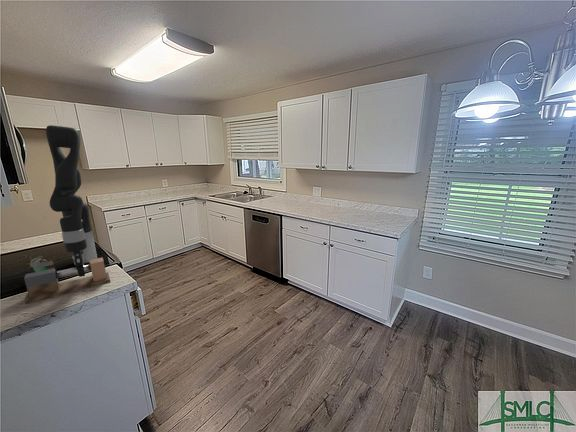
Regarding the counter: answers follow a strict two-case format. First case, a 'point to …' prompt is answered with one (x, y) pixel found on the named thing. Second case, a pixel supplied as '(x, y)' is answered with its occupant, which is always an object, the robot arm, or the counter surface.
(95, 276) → the socket
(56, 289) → the dock
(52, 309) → the counter surface
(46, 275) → the sleeve
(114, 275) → the counter surface
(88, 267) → the tube
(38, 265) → the food container
